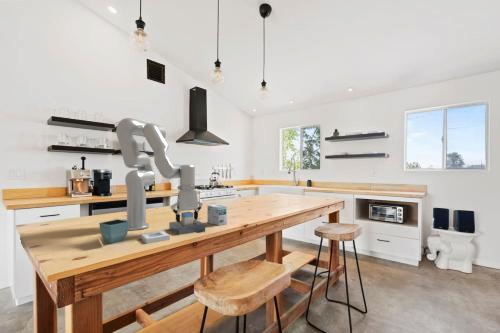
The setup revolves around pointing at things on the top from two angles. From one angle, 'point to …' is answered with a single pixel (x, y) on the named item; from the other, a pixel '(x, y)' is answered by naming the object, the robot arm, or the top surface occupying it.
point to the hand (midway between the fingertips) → (187, 220)
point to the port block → (187, 227)
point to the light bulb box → (217, 214)
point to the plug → (186, 218)
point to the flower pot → (114, 230)
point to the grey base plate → (155, 237)
